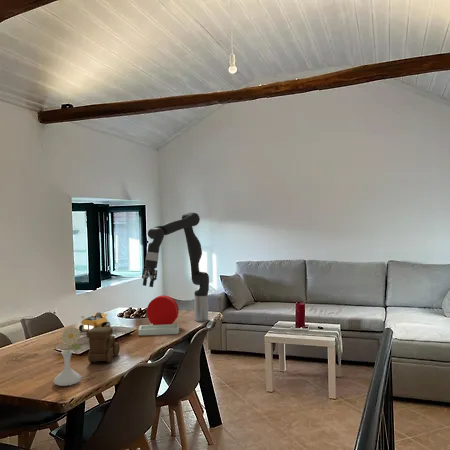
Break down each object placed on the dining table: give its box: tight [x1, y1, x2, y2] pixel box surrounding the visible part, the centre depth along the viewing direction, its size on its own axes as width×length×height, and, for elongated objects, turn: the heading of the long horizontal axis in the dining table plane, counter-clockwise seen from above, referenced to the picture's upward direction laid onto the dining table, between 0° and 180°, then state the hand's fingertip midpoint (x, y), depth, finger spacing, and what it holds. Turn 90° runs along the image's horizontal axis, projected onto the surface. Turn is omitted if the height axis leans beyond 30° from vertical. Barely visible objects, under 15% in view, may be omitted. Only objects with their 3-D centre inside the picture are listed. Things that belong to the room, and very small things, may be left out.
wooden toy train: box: [86, 324, 121, 364], centre depth 223 cm, size 20×11×17 cm, turn 176°
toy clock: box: [146, 294, 180, 325], centre depth 287 cm, size 20×6×20 cm, turn 84°
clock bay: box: [138, 323, 180, 336], centre depth 273 cm, size 10×24×4 cm, turn 96°
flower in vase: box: [53, 326, 82, 387], centre depth 191 cm, size 13×11×25 cm
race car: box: [78, 311, 111, 332], centre depth 282 cm, size 15×15×11 cm
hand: (147, 286), depth 269 cm, fingers open, 8 cm apart
